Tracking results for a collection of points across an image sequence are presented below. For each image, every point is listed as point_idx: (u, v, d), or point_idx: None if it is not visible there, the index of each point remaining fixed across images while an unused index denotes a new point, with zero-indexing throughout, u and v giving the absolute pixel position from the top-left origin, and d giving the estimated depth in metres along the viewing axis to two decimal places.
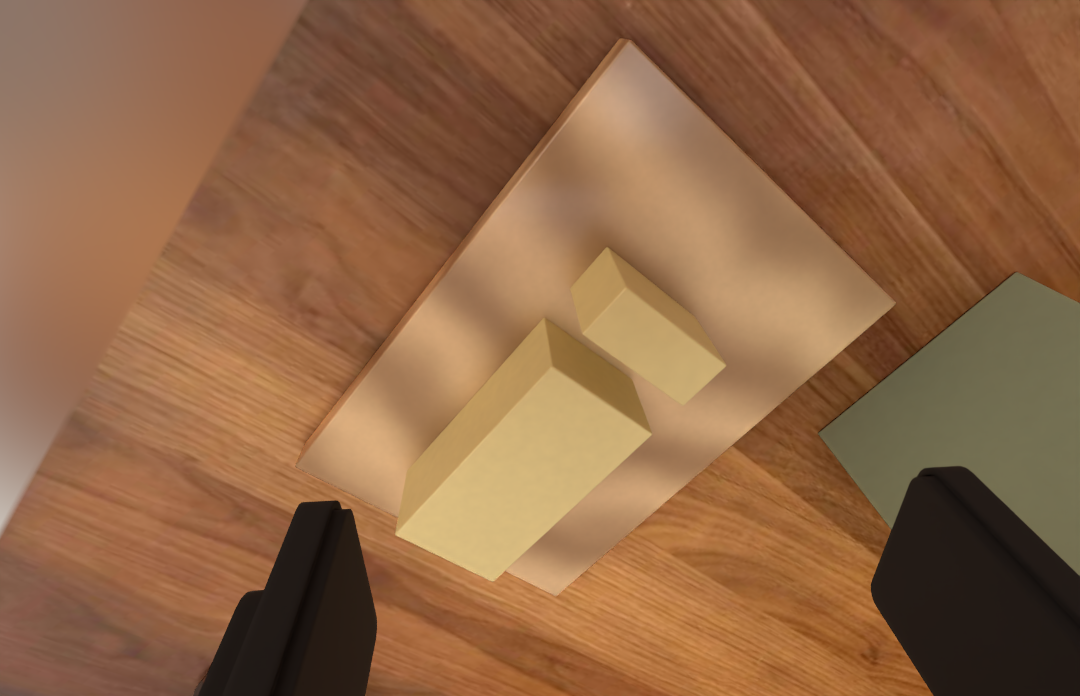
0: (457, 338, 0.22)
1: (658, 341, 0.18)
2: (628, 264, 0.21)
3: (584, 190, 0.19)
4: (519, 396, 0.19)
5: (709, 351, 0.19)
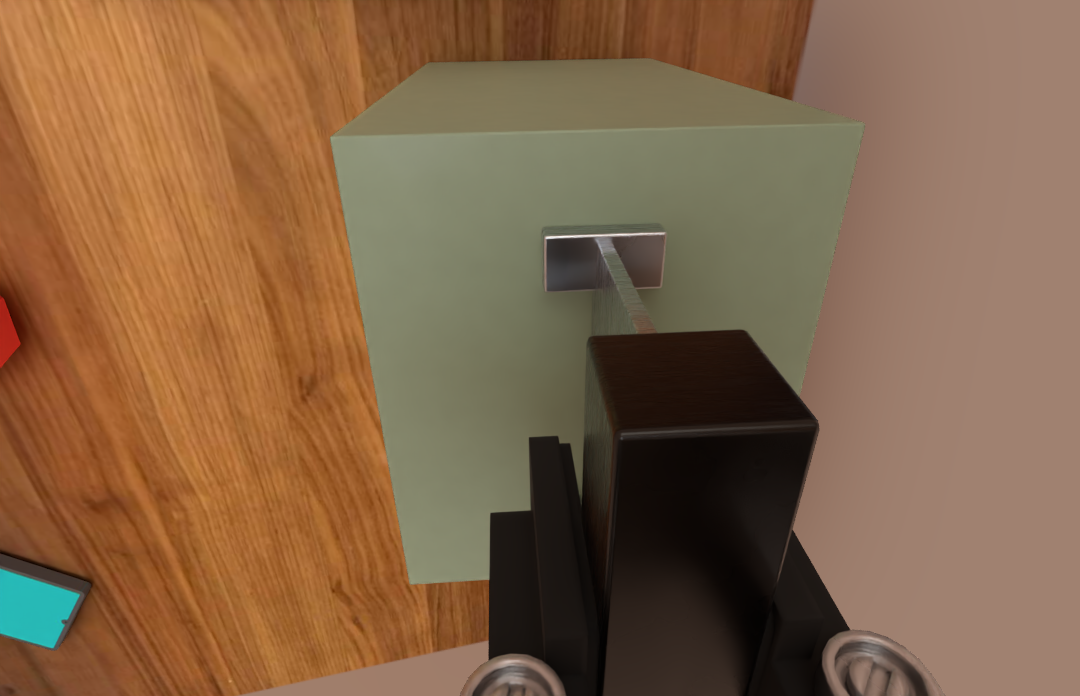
0: None
1: None
2: None
3: None
4: None
5: None
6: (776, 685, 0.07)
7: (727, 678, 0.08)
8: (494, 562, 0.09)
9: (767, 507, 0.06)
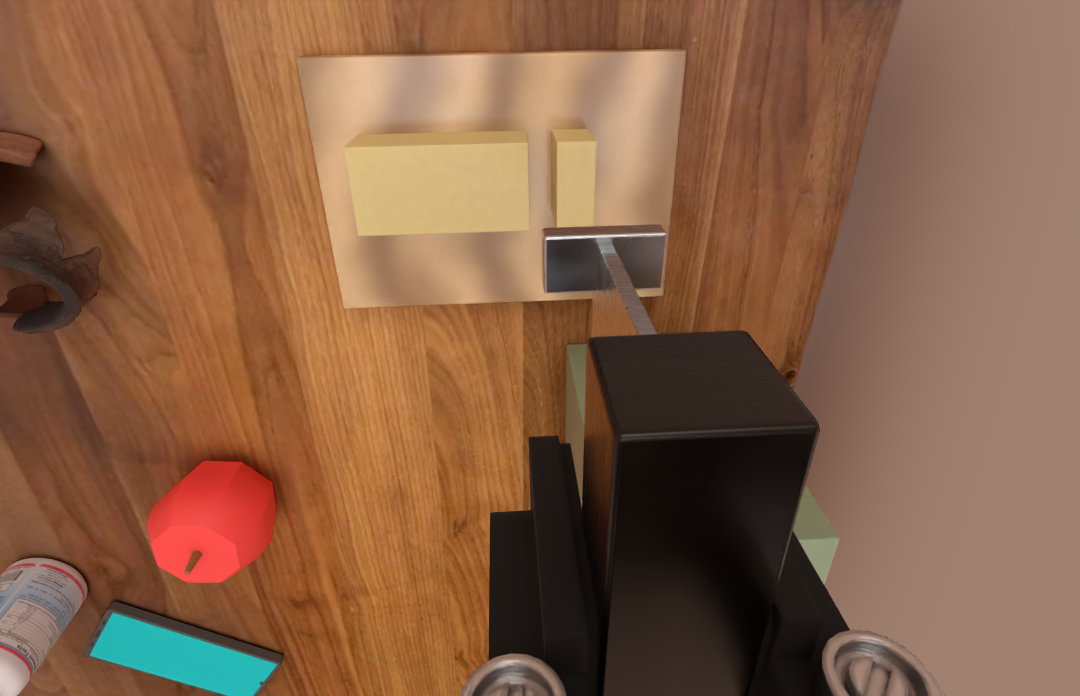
0: (474, 92, 0.31)
1: (581, 183, 0.30)
2: None
3: (606, 91, 0.32)
4: (495, 142, 0.29)
5: None
6: (776, 686, 0.07)
7: (727, 680, 0.08)
8: (494, 562, 0.09)
9: (767, 508, 0.06)
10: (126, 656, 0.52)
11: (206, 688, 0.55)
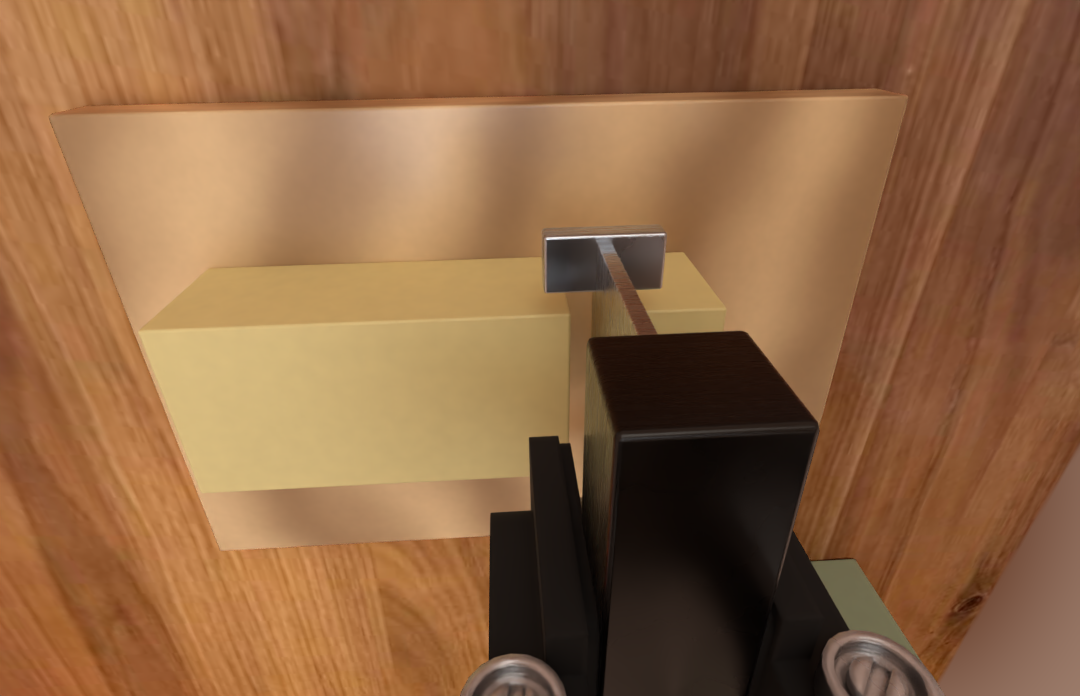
0: (450, 183, 0.15)
1: None
2: None
3: (729, 179, 0.15)
4: (495, 313, 0.13)
5: None
6: (776, 685, 0.07)
7: (727, 679, 0.08)
8: (494, 562, 0.09)
9: (767, 508, 0.06)
10: None
11: None
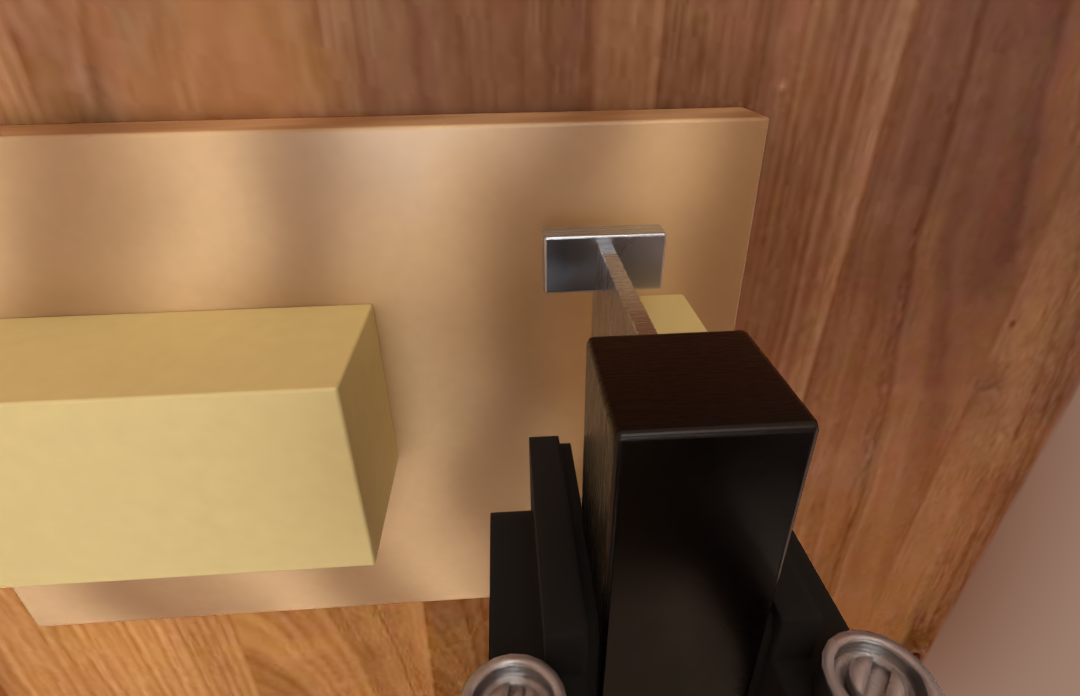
0: (230, 222, 0.12)
1: None
2: None
3: (566, 215, 0.13)
4: (246, 386, 0.10)
5: None
6: (776, 685, 0.07)
7: (726, 679, 0.08)
8: (494, 562, 0.09)
9: (766, 508, 0.06)
10: None
11: None
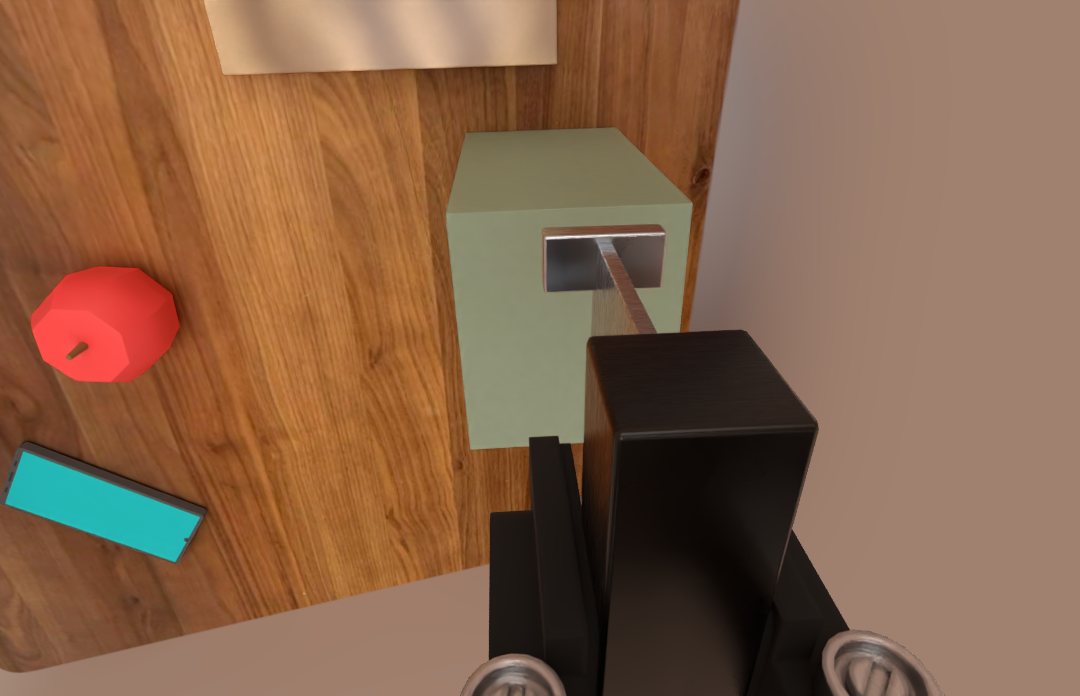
0: None
1: None
2: None
3: None
4: None
5: None
6: (776, 686, 0.07)
7: (726, 678, 0.08)
8: (494, 562, 0.09)
9: (767, 507, 0.06)
10: (43, 505, 0.51)
11: (130, 545, 0.54)
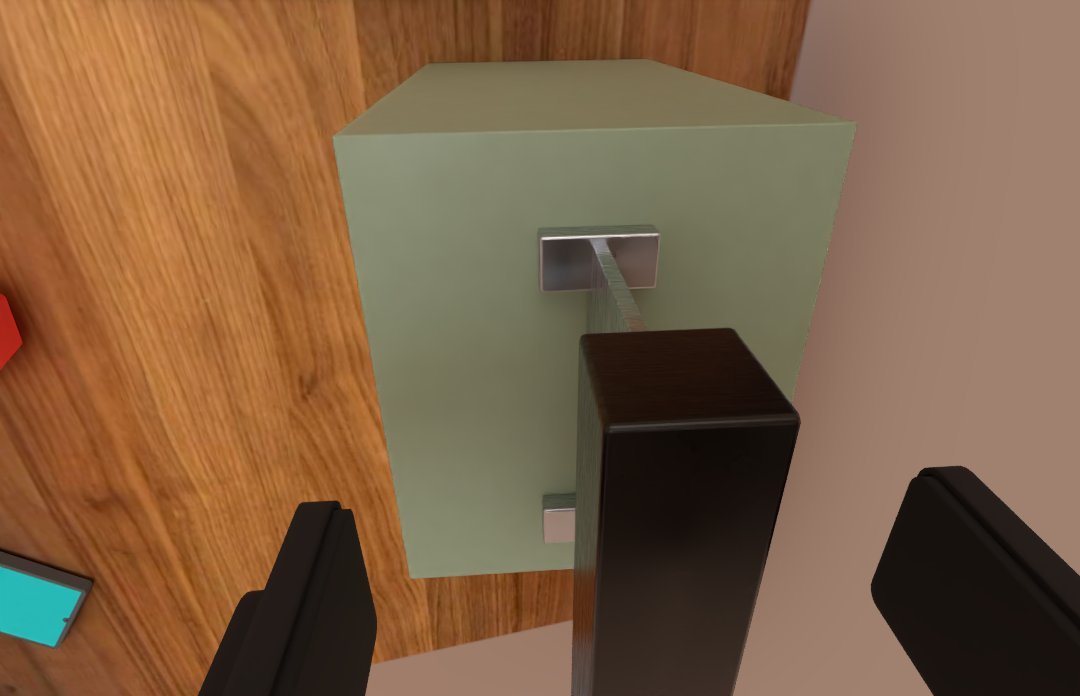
0: None
1: None
2: None
3: None
4: None
5: None
6: None
7: (715, 666, 0.08)
8: (218, 661, 0.08)
9: (751, 498, 0.06)
10: None
11: None
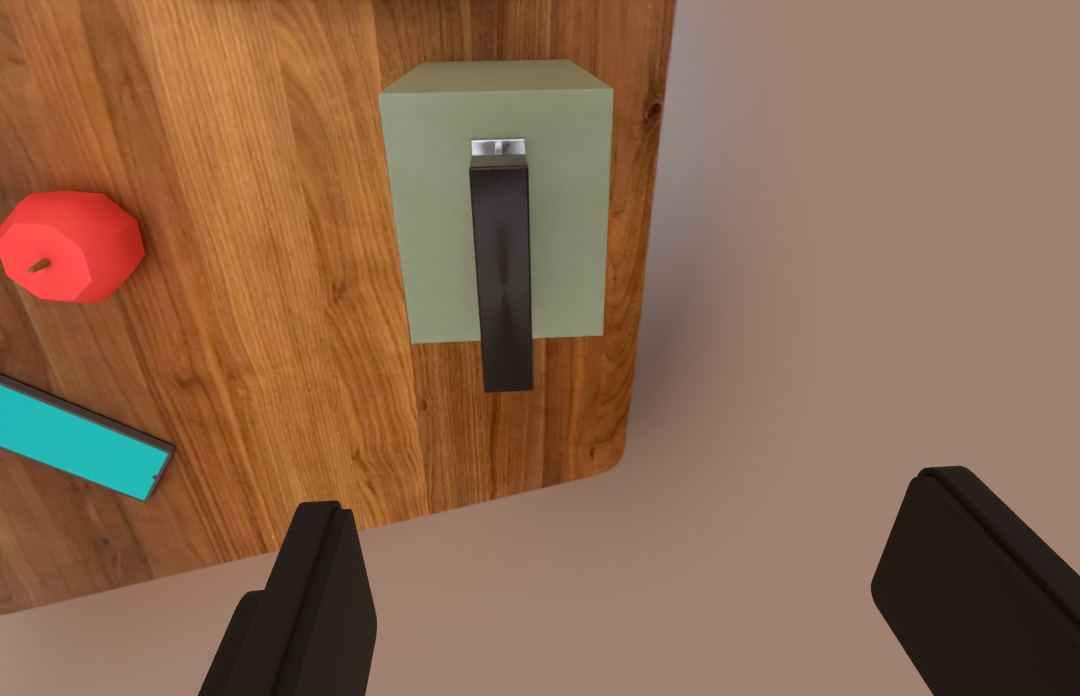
0: None
1: None
2: None
3: None
4: None
5: None
6: None
7: (521, 277, 0.22)
8: (218, 662, 0.08)
9: (518, 197, 0.20)
10: (12, 438, 0.52)
11: (99, 482, 0.55)
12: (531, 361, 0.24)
